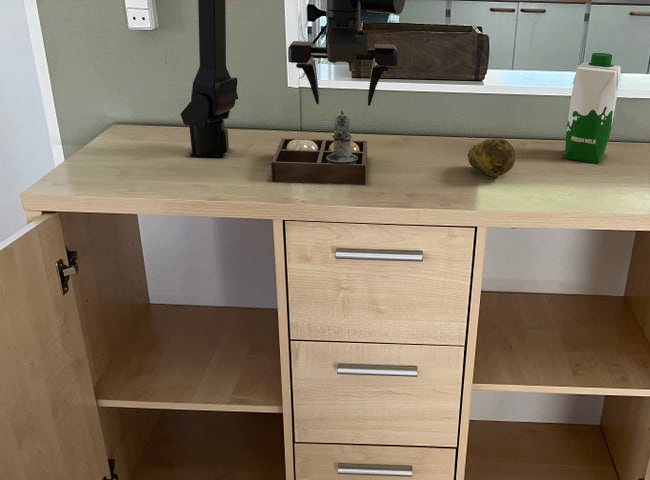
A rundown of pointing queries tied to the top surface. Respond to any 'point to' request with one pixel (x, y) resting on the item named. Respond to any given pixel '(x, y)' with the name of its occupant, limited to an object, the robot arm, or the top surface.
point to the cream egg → (302, 145)
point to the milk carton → (592, 108)
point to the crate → (317, 164)
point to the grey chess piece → (342, 142)
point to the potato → (492, 157)
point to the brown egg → (353, 147)
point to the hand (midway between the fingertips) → (343, 104)
